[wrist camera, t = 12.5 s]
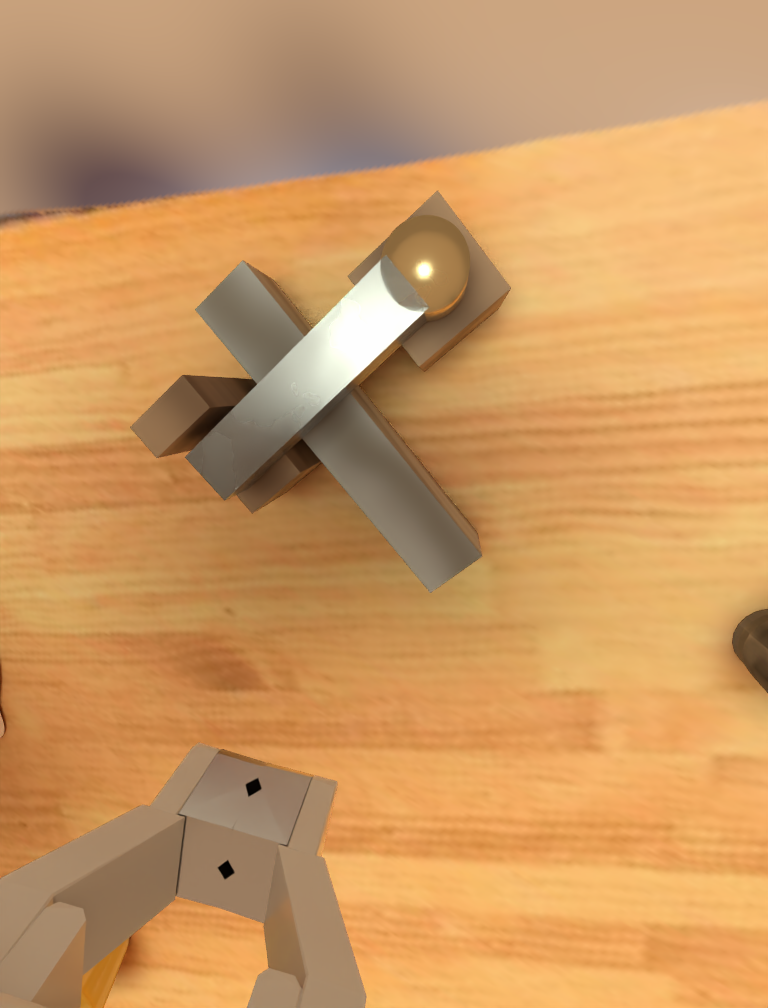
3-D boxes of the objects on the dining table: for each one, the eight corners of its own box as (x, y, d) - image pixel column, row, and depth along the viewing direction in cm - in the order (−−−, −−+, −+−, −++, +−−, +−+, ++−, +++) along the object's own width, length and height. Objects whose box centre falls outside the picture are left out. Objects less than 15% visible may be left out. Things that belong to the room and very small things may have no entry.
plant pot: (31, 920, 49) (-68, 1045, 40) (87, 869, 47) (-5, 991, 37) (108, 985, 50) (28, 1124, 40) (167, 939, 47) (97, 1076, 38)
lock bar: (432, 217, 24) (429, 193, 21) (484, 281, 24) (489, 266, 21) (205, 443, 28) (178, 450, 25) (253, 495, 28) (231, 507, 26)
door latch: (380, 603, 37) (354, 684, 26) (183, 370, 34) (72, 361, 24) (600, 443, 32) (671, 468, 22) (389, 164, 30) (358, 48, 20)
